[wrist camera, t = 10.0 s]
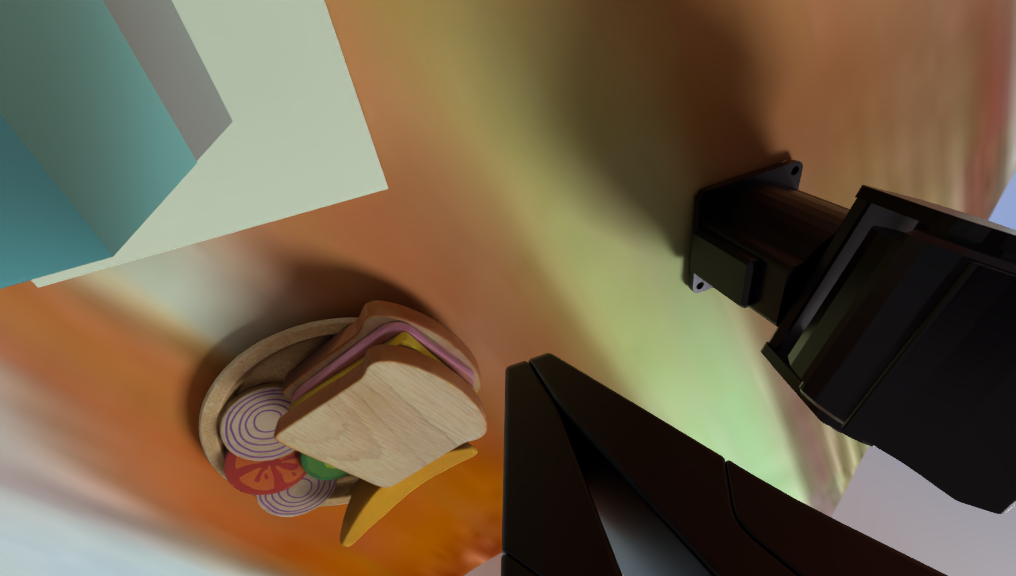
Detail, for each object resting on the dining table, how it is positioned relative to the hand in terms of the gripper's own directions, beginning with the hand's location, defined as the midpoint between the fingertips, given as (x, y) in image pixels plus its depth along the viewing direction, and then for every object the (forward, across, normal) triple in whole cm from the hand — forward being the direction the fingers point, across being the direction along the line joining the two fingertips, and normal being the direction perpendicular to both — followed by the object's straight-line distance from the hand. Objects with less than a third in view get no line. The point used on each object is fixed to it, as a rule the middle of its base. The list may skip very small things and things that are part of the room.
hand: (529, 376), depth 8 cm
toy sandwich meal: (+13, +7, +10) cm, 18 cm away
